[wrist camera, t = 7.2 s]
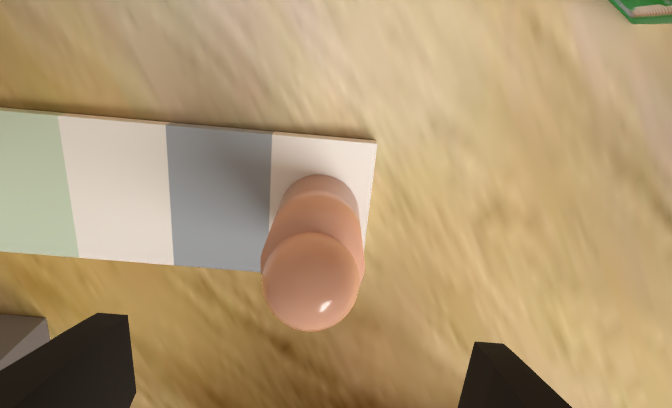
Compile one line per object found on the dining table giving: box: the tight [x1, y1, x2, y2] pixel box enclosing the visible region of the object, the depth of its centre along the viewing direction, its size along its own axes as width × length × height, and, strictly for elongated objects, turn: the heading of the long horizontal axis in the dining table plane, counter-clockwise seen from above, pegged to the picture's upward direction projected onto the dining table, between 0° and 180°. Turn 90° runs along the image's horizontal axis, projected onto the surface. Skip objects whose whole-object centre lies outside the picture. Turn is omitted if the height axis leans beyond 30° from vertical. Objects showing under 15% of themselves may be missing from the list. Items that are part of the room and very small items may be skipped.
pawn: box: [260, 174, 365, 332], centre depth 14 cm, size 3×3×7 cm
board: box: [0, 107, 377, 272], centre depth 17 cm, size 20×6×1 cm, turn 85°
